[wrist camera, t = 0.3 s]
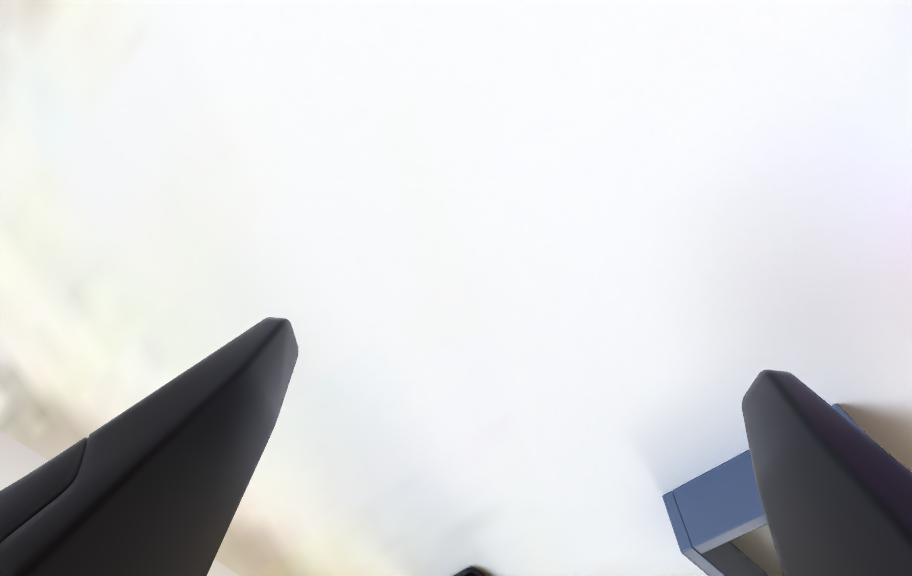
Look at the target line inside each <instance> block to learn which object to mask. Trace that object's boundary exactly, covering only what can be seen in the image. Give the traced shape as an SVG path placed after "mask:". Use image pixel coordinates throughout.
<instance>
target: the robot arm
mask: <svg viewBox="0 0 912 576" xmlns="http://www.w3.org/2000/svg"><path fill="white" fill-rule="evenodd" d="M297 357H298V345H297V342H296V339H295V335H294V332H293V329H292V326H291V323H290V322H289V321H288V320H287V319H283V318H273V317H269V318H266V319H264V320H262V321H261V322H259V323H258V324H256V325H255V326H253V327H252V328H250V329H249V330H247V331H246V332H244V333H243V334H241V335H240V336H238V337H237V338H235V339H234V340H232V341H231V342H229V343H228V344H226V345H225V346H223V347H221V348H220V349H218V350H217V351H215V352H214V353H212V354H211V355H209V356H208V357H206V358H205V359H203V360H202V361H200V362H199V363H197V364H196V365H194V366H193V367H191V368H190V369H188V370H187V371H185V372H184V373H182V374H181V375H179V376H178V377H176V378H175V379H173V380H172V381H170V382H168V383H167V384H165V385H164V386H162V387H161V388H159V389H158V390H156V391H155V392H153V393H152V394H150V395H149V396H147V397H146V398H144V399H143V400H141V401H140V402H138V403H137V404H135V405H134V406H132V407H131V408H129V409H128V410H126V411H125V412H123V413H122V414H120V415H119V416H117V417H115V418H114V419H112V420H111V421H109V422H108V423H106V424H105V425H103V426H102V427H100V428H99V429H97V430H96V431H94V432H93V433H91V434H90V435H89V438H83V439H82V440H80V441H79V442H77V443H76V444H74V445H73V446H71V447H70V448H68V449H67V450H65V451H64V452H62V453H61V454H59V455H58V456H56V457H54V458H53V459H51V460H50V461H48V462H47V463H45V464H44V465H42V466H41V467H39V468H37V469H36V470H34V471H33V472H31V473H29V474H28V475H26V476H25V477H23V478H21V479H20V480H18V481H17V482H15V483H13V484H11V485H10V486H8V487H6V488H5V489H3V490H1V491H0V576H207V574H208V571H209V569H210V567H211V565H212V562H213V560H214V558H215V556H216V554H217V552H218V549H219V547H220V545H221V543H222V541H223V539H224V536H225V534H226V532H227V530H228V528H229V525H230V523H231V521H232V519H233V517H234V514H235V512H236V510H237V508H238V506H239V503H240V501H241V499H242V497H243V495H244V492H245V490H246V488H247V486H248V484H249V482H250V479H251V477H252V475H253V473H254V471H255V468H256V466H257V464H258V462H259V460H260V457H261V455H262V453H263V451H264V449H265V446H266V444H267V442H268V440H269V438H270V435H271V433H272V431H273V428H274V426H275V423H276V421H277V418H278V415H279V412H280V409H281V406H282V403H283V400H284V397H285V394H286V391H287V388H288V385H289V382H290V379H291V376H292V373H293V369H294V366H295V363H296V360H297ZM742 411H743V416H744V421H745V427H746V432H747V437H748V443H749V448H750V453H751V459H752V464H753V469H754V475H755V479H756V484H757V488H758V492H759V495H760V499H761V502H762V505H763V509H764V512H765V515H766V518H767V522H768V525H769V528H770V531H771V535H772V538H773V541H774V544H775V548H776V551H777V554H778V557H779V561H780V564H781V567H782V570H783V573H784V576H912V473H911V472H910V471H909V470H908V469H907V468H905V467H904V466H903V465H902V464H901V463H899V462H898V461H897V460H896V459H895V458H893V457H892V456H891V455H890V454H888V453H887V452H886V451H885V450H884V449H882V448H881V447H880V446H879V445H878V444H876V443H875V442H874V441H873V440H871V439H870V438H869V437H868V436H867V435H865V434H864V433H863V432H862V431H861V430H859V429H858V428H857V427H856V426H854V425H853V424H852V423H851V422H850V421H848V420H847V419H846V418H845V417H844V416H842V415H841V414H840V413H839V412H838V411H836V410H835V409H834V408H833V407H831V406H830V405H829V404H828V403H827V402H825V401H824V400H823V399H822V398H821V397H819V396H818V395H817V394H816V393H814V392H813V391H812V390H811V389H810V388H808V387H807V386H806V385H805V384H804V383H802V382H801V381H800V380H799V379H797V378H796V377H795V376H794V375H792V374H791V373H788V372H784V371H775V370H764V371H762V372H760V373H759V375H758V376H757V378H756V379H755V381H754V382H753V384H752V385H751V387H750V388H749V389H748V391H747V392H746V394H745V396H744V398H743V401H742ZM454 576H484V575H483V574H481V573H480V572H479V571H477V570H476V569H474V568H466V569H465V570H463V571H461V572H459V573H458V574H456V575H454Z"/></svg>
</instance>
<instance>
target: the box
mask: <svg viewBox="0 0 912 576" xmlns="http://www.w3.org/2000/svg"><path fill="white" fill-rule="evenodd" d="M831 407H833V408H834V409H835V410H836V411H838V412H839V413H840V414H841V415H842V416H844V417H845V418H846V419H847V420H848V421H850V422H851V423H852V424H853V425H854V426H856V427H857V428H858V429H859V430H861V431H862V432H863V433H864V434H865V435H867V434H866V433H865V432H864V431H863V430H862V429H861V428H860V427H859V426H858V425H857V424H856V423H855V422H854V421H853V420H852V419H851V418H850V417H849V416H848V415H847V414H846V413H845V412H844V410H843V409H842V408H841V407H840V406H839V405H837V404H835V405H833V406H831ZM867 436H868V435H867ZM663 499H664V502H665V505H666V508H667V511H668V514H669V517H670V520H671V524H672V527H673V530H674V533H675V536H676V539H677V542H678V545H679V548H680V551H681V553H682V554H684V555H685V556H686V557H687V558H688V559H690V560H691V561H692V562H693V563H694V564H695V565H697V566H698V567H699V568H700V569H701V570H703V571H704V572H705V573H706V574H707V575H709V576H768V575H767V574H766V573H765V572H763V571H762V570H761V569H760V568H759V567H758V566H757V565H756V564H754V563H753V562H752V561H751V560H750V559H749V558H748V557H746V556H745V555H744V554H743V553H742V552H741V551H740V550H738V549H737V548H736V547H735V546H734V545H733V544H732V543H730V542H729V541H731V540H733V539H735V538H737V537H740V536H742V535H744V534H746V533H748V532H751V531H753V530H755V529H757V528H759V527H762V526H764V525H766V524H768V522H767V518H766V515H765V512H764V509H763V505H762V502H761V499H760V495H759V492H758V488H757V484H756V479H755V475H754V469H753V464H752V459H751V453H750V450H748V451H746V452H744V453H742V454H740V455H739V456H737V457H735V458H733V459H731V460H729V461H727V462H725V463H723V464H722V465H720V466H718V467H716V468H714V469H712V470H710V471H708V472H707V473H705V474H703V475H701V476H699V477H697V478H695V479H693V480H692V481H690V482H688V483H686V484H684V485H682V486H680V487H678V488H677V489H675V490H673V492H669V493H667V494H666V495H664V496H663Z"/></svg>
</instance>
